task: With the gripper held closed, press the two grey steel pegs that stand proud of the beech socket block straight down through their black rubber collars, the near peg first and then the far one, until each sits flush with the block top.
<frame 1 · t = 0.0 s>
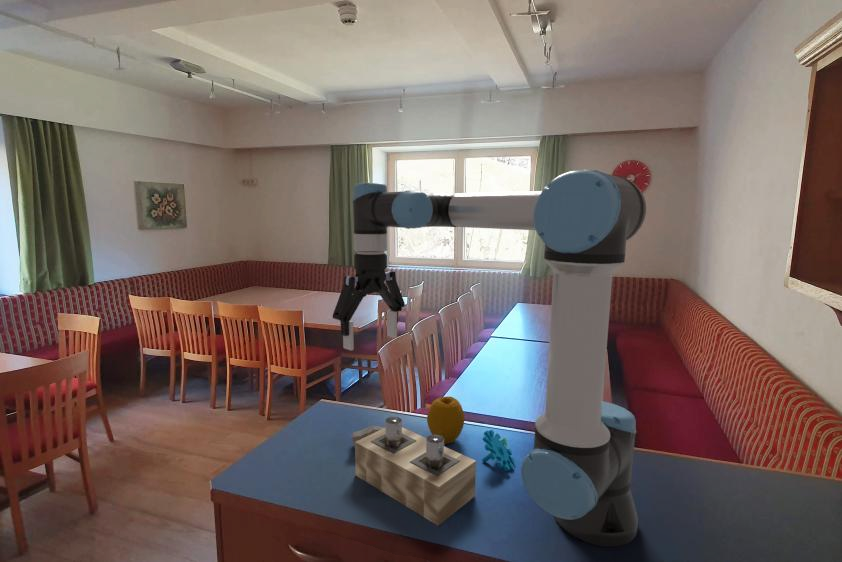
hand: (371, 342, 105), 28 cm above the counter, fingers open, 13 cm apart
socket block: (413, 485, 96), on the counter
steel peg near: (435, 456, 91), point 9 cm above the counter, slide at 5.0 cm
steel peg far: (393, 436, 99), point 9 cm above the counter, slide at 5.0 cm
apple: (445, 440, 116), on the counter
teal knobby branched piece: (498, 464, 105), on the counter
stone: (371, 450, 111), on the counter
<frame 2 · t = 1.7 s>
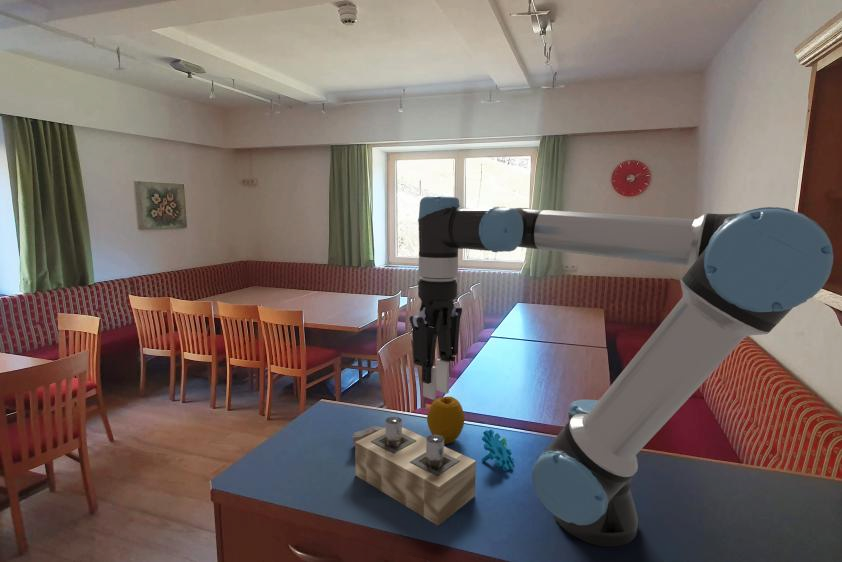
hand: (435, 394, 89), 23 cm above the counter, fingers open, 3 cm apart
nothing on the counter moved.
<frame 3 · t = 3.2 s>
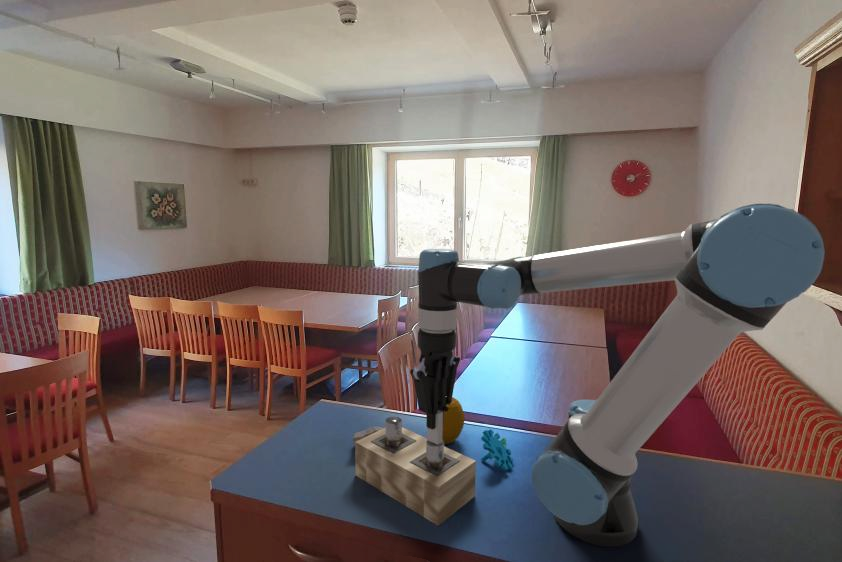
hand: (434, 440, 91), 13 cm above the counter, fingers closed
steel peg near: (434, 459, 91), point 8 cm above the counter, slide at 4.2 cm, touching gripper
everything else where it was.
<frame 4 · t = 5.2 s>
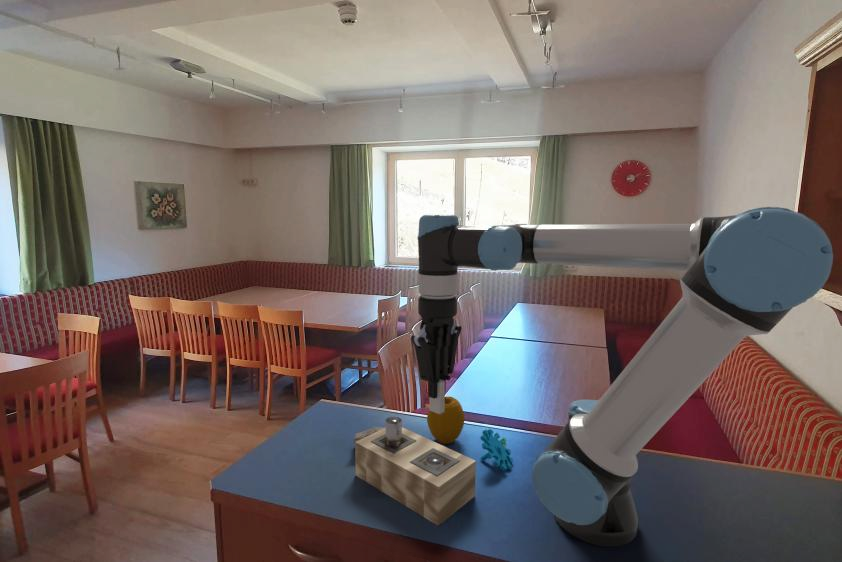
hand: (436, 410, 89), 19 cm above the counter, fingers closed
steel peg near: (434, 476, 92), point 5 cm above the counter, slide at 0.4 cm
everything else where it was.
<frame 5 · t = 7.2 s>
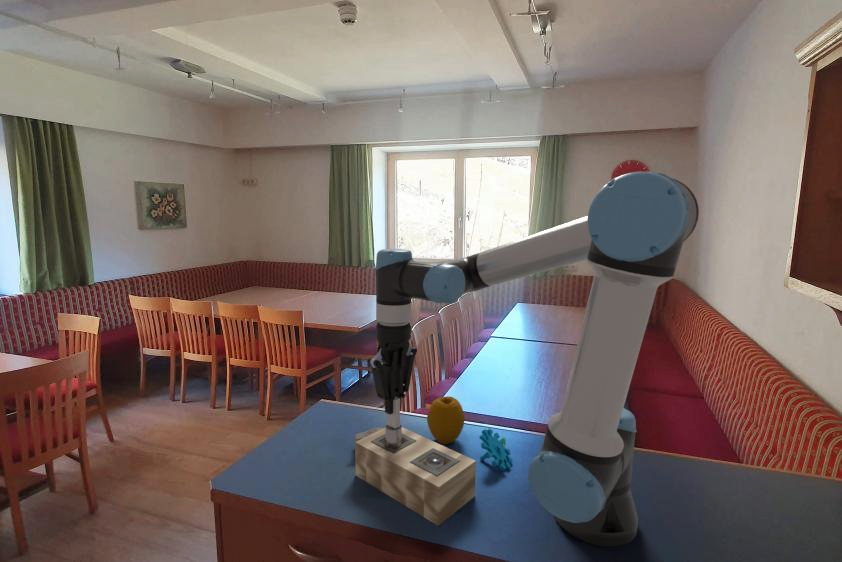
hand: (393, 425, 99), 12 cm above the counter, fingers closed
steel peg far: (393, 442, 99), point 8 cm above the counter, slide at 3.5 cm, touching gripper
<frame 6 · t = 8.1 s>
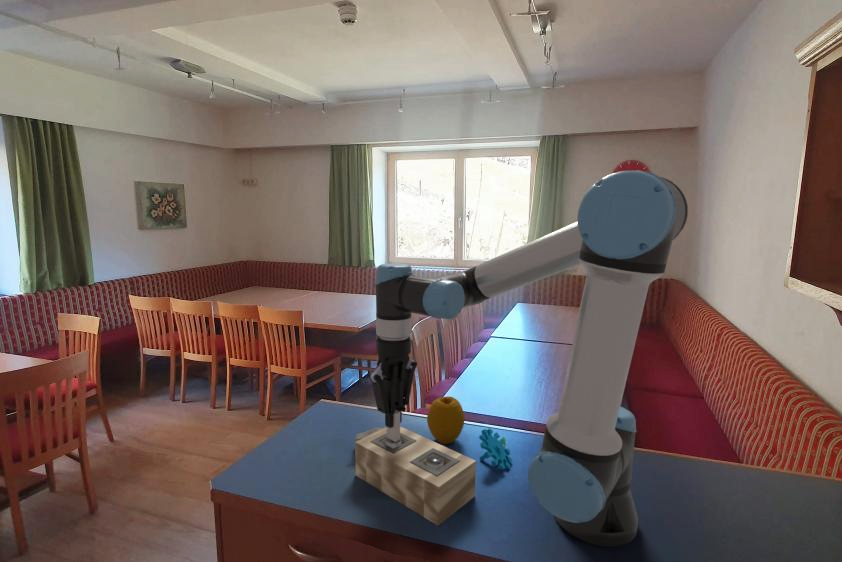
hand: (393, 438, 99), 9 cm above the counter, fingers closed
steel peg far: (393, 455, 100), point 5 cm above the counter, slide at 0.4 cm, touching gripper
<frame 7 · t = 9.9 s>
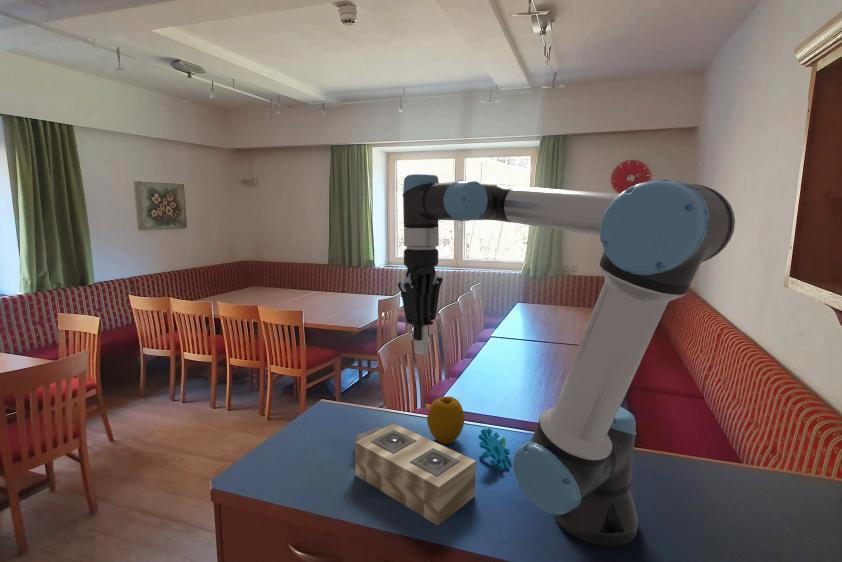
hand: (421, 353, 100), 27 cm above the counter, fingers closed
steel peg far: (393, 455, 100), point 5 cm above the counter, slide at 0.4 cm
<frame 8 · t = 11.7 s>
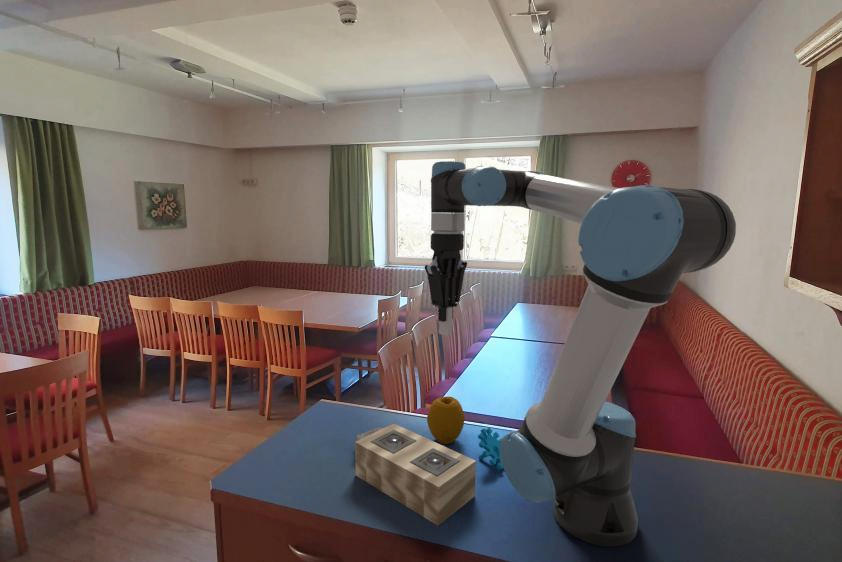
hand: (445, 333, 104), 30 cm above the counter, fingers closed
at the end: steel peg near slide at 0.4 cm; steel peg far slide at 0.4 cm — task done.
